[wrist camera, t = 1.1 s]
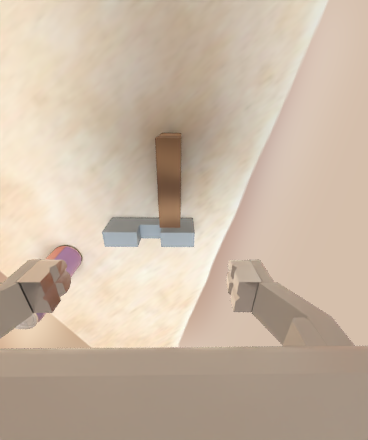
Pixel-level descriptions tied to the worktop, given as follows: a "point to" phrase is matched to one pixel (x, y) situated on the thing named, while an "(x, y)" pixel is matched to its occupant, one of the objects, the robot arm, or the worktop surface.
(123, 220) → the notched grey block
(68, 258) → the beverage can
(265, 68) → the worktop surface
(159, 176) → the wooden bridge block
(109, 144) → the worktop surface
